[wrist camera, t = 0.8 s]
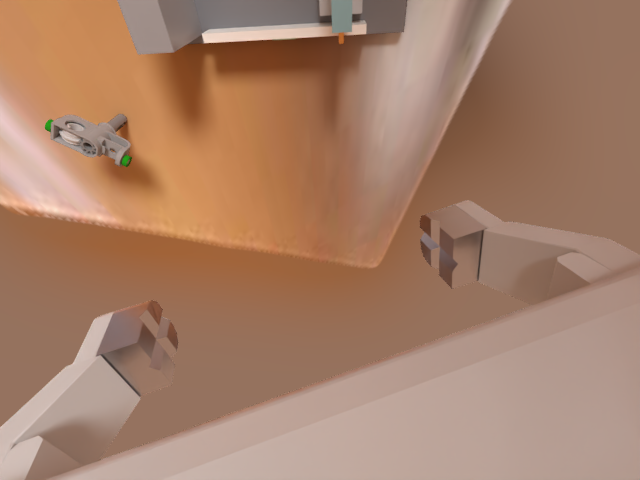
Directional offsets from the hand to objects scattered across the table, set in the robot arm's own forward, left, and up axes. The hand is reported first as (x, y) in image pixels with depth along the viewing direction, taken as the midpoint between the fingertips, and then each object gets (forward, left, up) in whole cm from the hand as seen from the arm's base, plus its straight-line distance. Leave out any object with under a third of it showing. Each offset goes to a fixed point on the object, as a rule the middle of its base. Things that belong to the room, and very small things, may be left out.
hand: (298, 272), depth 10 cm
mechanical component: (+11, -33, -44) cm, 56 cm away
